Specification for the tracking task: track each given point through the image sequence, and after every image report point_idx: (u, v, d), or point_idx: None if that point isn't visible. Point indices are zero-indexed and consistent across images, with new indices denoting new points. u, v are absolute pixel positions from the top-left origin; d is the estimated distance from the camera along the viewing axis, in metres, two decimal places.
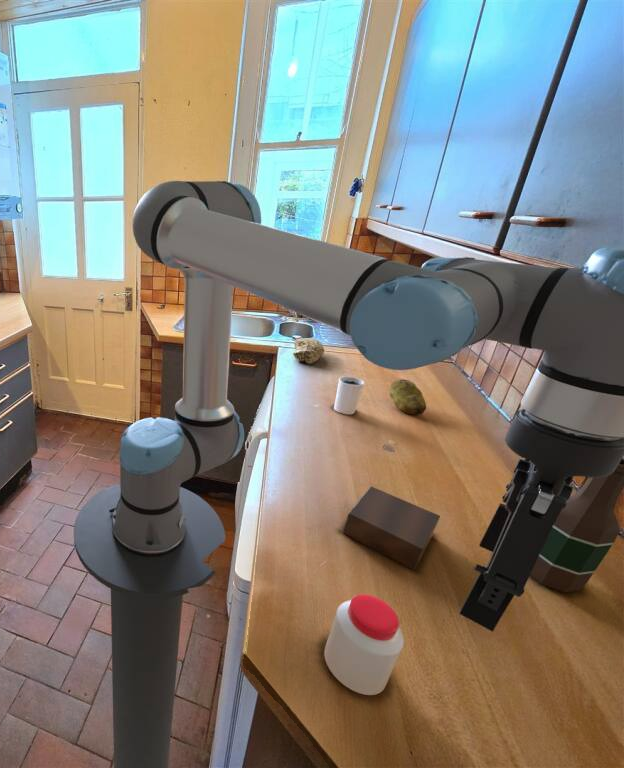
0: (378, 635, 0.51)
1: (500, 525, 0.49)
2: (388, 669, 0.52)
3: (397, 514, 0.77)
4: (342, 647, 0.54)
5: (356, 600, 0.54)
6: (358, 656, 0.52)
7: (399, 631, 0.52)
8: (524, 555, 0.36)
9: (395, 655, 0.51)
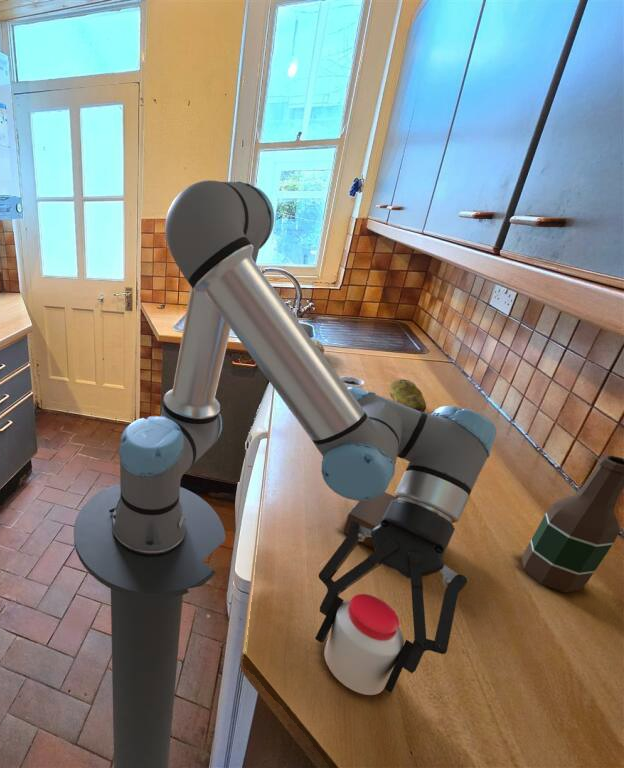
0: (378, 635, 0.51)
1: (334, 615, 0.56)
2: (388, 669, 0.52)
3: None
4: (342, 647, 0.54)
5: (356, 600, 0.54)
6: (358, 656, 0.52)
7: (399, 631, 0.52)
8: None
9: (395, 655, 0.51)
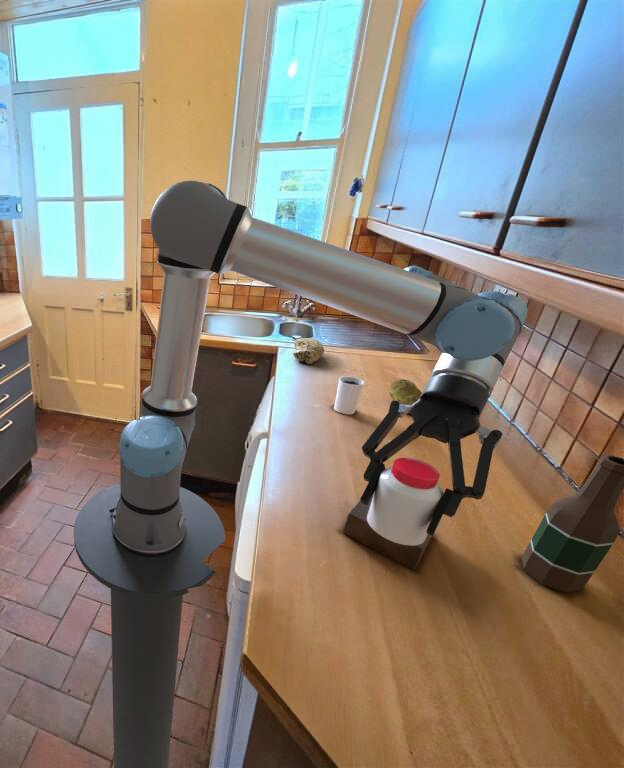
0: (421, 483, 0.56)
1: (377, 479, 0.62)
2: (429, 517, 0.57)
3: None
4: (386, 502, 0.59)
5: (399, 461, 0.60)
6: (402, 506, 0.58)
7: (439, 485, 0.58)
8: None
9: (436, 501, 0.56)
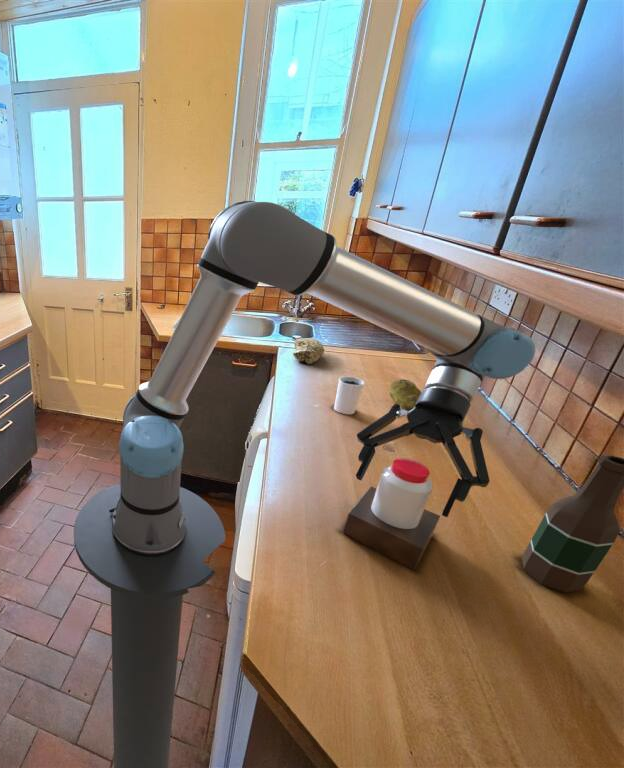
0: (415, 479, 0.71)
1: (369, 460, 0.78)
2: (421, 505, 0.72)
3: None
4: (387, 494, 0.74)
5: (397, 461, 0.74)
6: (400, 497, 0.72)
7: (429, 480, 0.72)
8: None
9: (427, 493, 0.71)
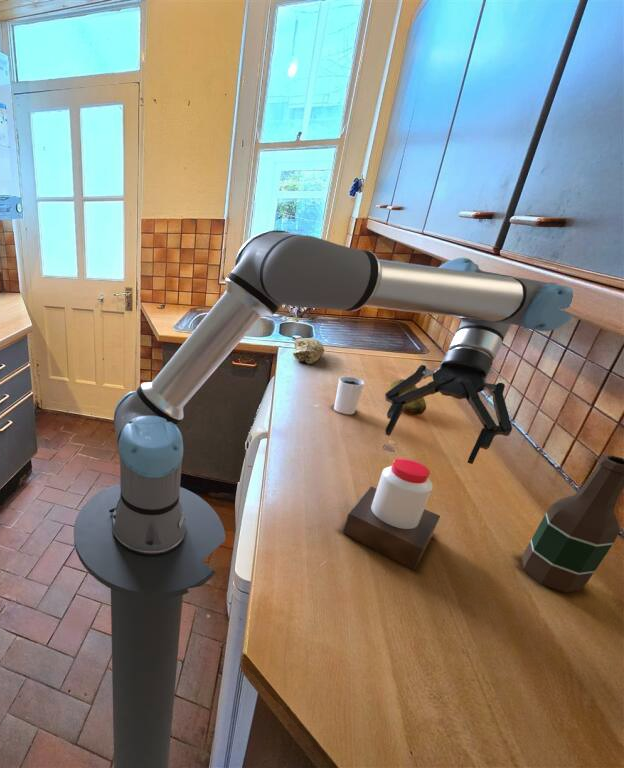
0: (415, 479, 0.71)
1: (397, 416, 0.84)
2: (421, 505, 0.72)
3: None
4: (387, 494, 0.74)
5: (397, 461, 0.74)
6: (400, 497, 0.72)
7: (429, 480, 0.72)
8: None
9: (427, 493, 0.71)
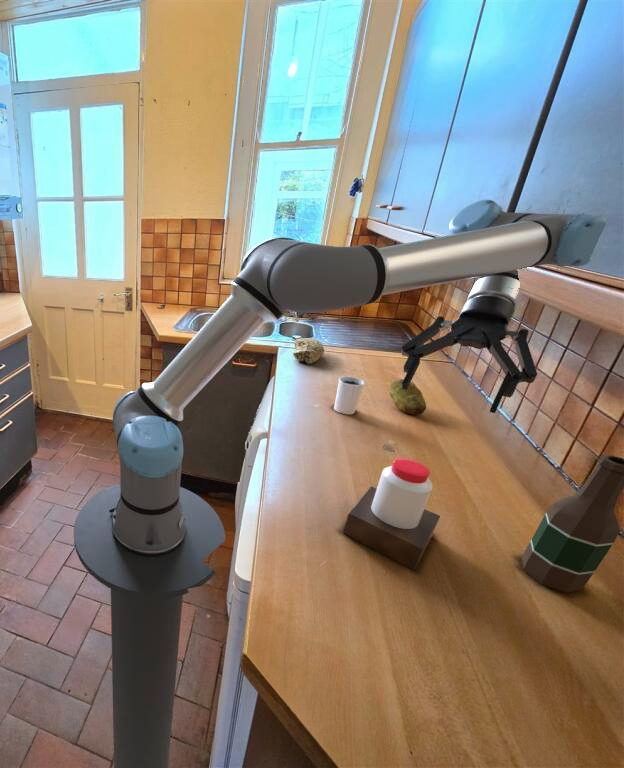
0: (415, 479, 0.71)
1: (414, 368, 0.81)
2: (421, 505, 0.72)
3: None
4: (387, 494, 0.74)
5: (397, 461, 0.74)
6: (400, 497, 0.72)
7: (429, 480, 0.72)
8: None
9: (427, 493, 0.71)
